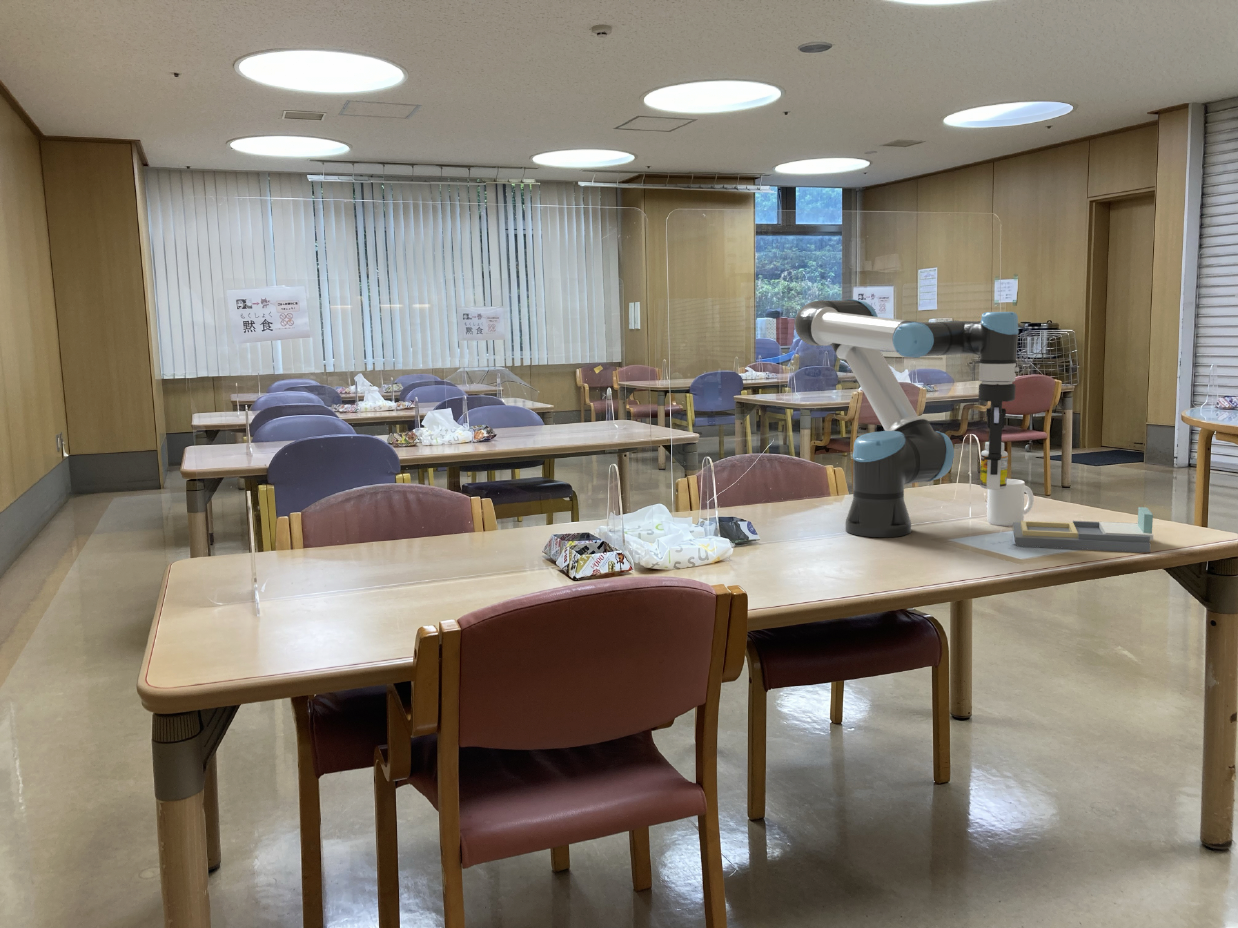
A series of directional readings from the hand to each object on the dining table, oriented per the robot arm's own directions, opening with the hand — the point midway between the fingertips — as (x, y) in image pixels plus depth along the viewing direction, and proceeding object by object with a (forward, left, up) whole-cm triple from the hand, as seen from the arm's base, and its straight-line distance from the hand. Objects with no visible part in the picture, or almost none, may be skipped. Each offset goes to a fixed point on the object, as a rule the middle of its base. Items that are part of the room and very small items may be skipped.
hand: (992, 486), depth 212 cm
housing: (+17, +3, -12) cm, 21 cm away
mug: (+5, +21, -13) cm, 25 cm away
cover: (+27, +3, -10) cm, 29 cm away
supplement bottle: (0, 0, -1) cm, 1 cm away
